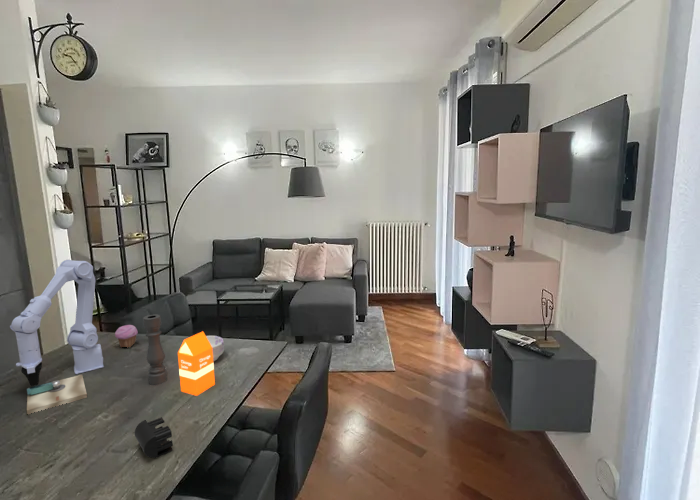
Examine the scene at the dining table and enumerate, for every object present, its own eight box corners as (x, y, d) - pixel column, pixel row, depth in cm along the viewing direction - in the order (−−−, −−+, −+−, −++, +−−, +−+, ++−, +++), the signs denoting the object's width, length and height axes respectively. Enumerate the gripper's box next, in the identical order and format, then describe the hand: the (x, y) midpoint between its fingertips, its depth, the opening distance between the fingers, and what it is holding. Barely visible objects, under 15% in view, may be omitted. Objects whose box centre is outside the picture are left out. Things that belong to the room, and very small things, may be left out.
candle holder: (171, 378, 147) (165, 315, 143) (158, 386, 141) (151, 320, 137) (158, 375, 149) (152, 313, 145) (145, 383, 143) (138, 318, 139)
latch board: (82, 378, 148) (82, 373, 148) (87, 397, 134) (86, 393, 134) (28, 392, 138) (27, 387, 138) (27, 414, 124) (26, 409, 124)
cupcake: (112, 349, 174) (109, 328, 172) (126, 342, 182) (124, 321, 181) (129, 350, 172) (127, 329, 171) (143, 343, 181) (141, 322, 179)
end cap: (135, 445, 109) (133, 423, 108) (162, 434, 113) (160, 413, 112) (145, 464, 101) (142, 440, 100) (173, 451, 106) (171, 429, 105)
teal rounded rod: (60, 384, 139) (59, 379, 138) (60, 387, 137) (60, 382, 137) (27, 393, 133) (26, 388, 133) (27, 396, 131) (26, 390, 131)
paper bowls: (232, 356, 165) (231, 339, 164) (201, 371, 152) (200, 352, 151) (209, 349, 173) (207, 332, 172) (178, 362, 160) (176, 344, 159)
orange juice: (215, 384, 142) (211, 332, 139) (196, 396, 134) (192, 341, 131) (199, 380, 145) (195, 329, 142) (180, 391, 137) (175, 337, 134)
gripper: (15, 345, 139) (20, 380, 141) (13, 359, 128) (19, 397, 130) (40, 340, 143) (45, 374, 145) (40, 353, 132) (45, 390, 134)
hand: (34, 384), depth 138 cm, fingers closed
